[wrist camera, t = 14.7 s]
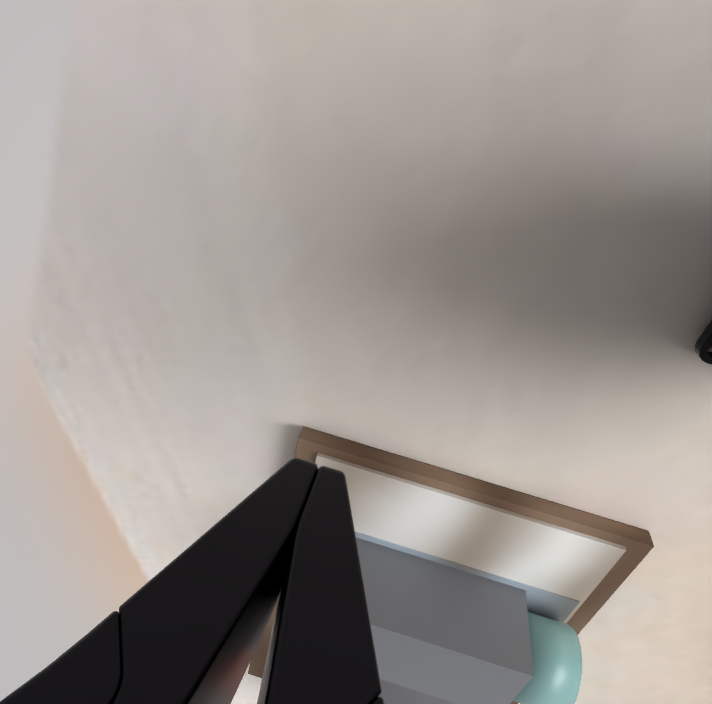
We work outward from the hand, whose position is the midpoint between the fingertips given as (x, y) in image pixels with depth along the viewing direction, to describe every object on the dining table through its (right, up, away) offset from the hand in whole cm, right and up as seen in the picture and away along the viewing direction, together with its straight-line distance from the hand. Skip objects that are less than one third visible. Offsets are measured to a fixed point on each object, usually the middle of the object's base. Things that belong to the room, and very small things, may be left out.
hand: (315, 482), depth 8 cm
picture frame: (+4, -13, +21) cm, 25 cm away
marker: (+4, -10, +18) cm, 21 cm away
